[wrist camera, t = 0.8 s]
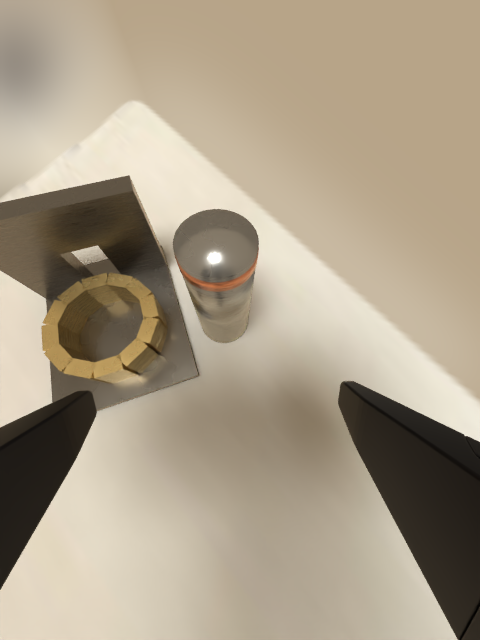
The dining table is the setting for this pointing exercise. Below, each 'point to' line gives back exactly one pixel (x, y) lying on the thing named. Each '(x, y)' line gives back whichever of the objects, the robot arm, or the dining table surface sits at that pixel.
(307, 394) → the dining table surface
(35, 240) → the collar stand
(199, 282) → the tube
